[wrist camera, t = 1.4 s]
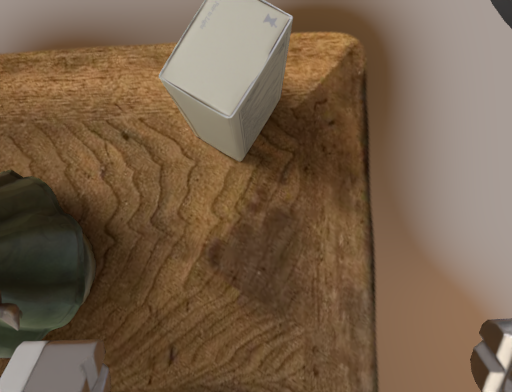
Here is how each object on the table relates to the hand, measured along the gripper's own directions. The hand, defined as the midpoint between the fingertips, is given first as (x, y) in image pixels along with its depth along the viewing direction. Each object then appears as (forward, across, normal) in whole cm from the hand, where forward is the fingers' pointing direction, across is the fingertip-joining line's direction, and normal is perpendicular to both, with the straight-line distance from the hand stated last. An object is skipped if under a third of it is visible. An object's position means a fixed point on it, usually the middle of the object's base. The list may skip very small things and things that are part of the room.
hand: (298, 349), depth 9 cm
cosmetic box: (+26, 0, +3) cm, 26 cm away
